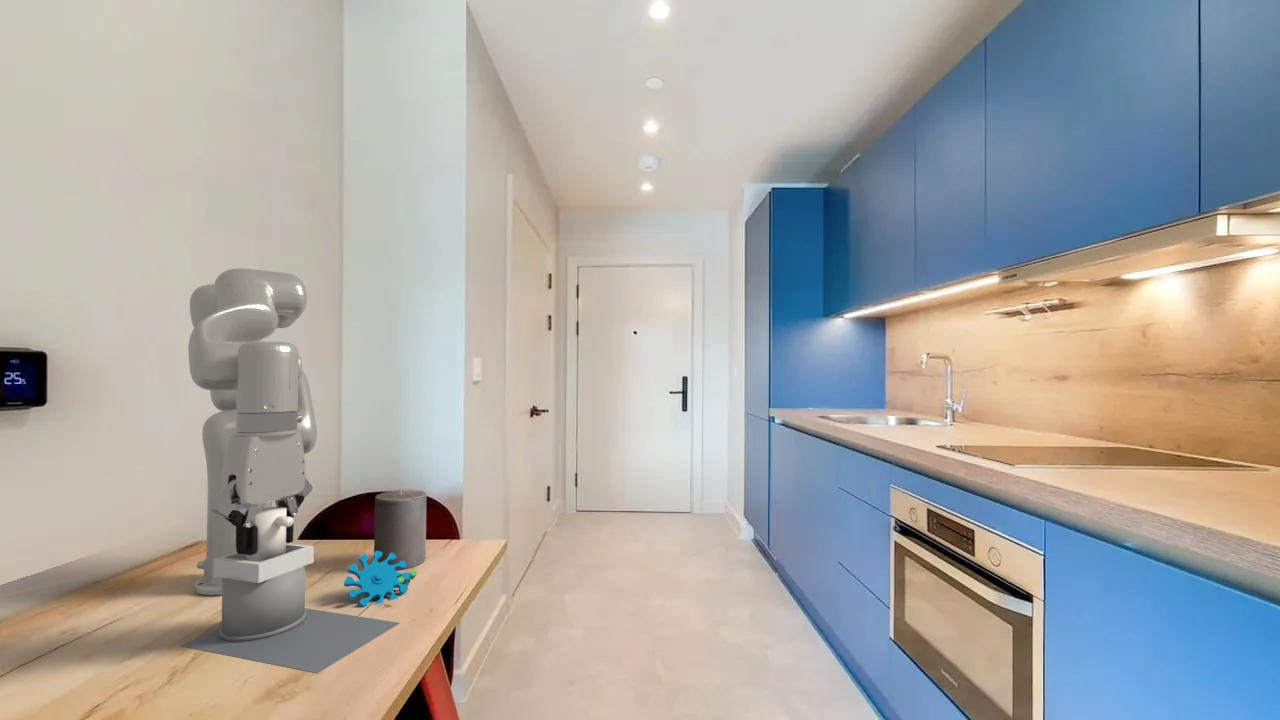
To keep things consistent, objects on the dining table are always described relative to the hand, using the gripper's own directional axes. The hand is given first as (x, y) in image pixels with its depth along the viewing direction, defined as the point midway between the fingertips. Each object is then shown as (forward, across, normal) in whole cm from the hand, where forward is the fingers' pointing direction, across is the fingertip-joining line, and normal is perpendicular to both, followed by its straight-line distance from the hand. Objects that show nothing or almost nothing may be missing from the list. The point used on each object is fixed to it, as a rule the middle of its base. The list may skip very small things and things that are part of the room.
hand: (265, 546), depth 79 cm
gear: (+13, -14, +9) cm, 20 cm away
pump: (+1, 0, 0) cm, 1 cm away
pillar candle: (+13, -30, -2) cm, 33 cm away
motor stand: (+12, +1, +7) cm, 14 cm away
